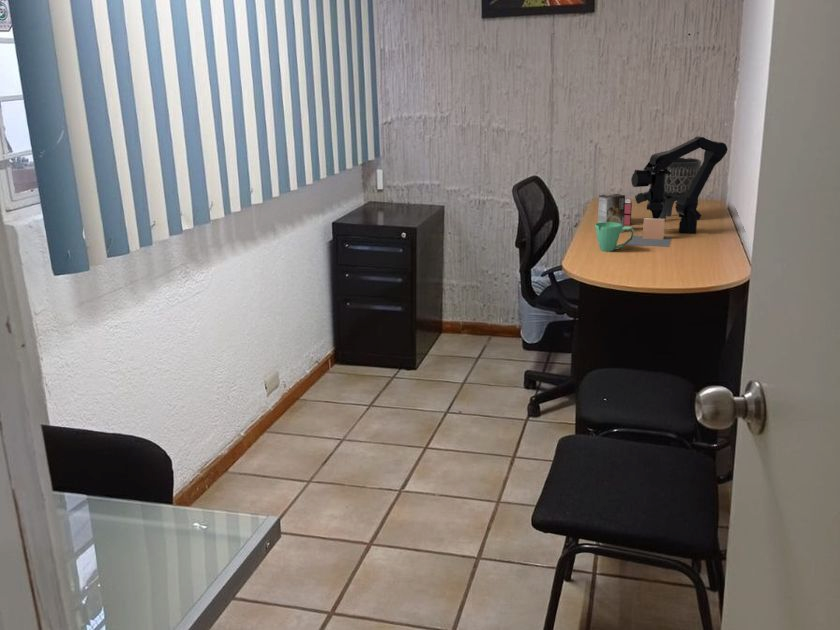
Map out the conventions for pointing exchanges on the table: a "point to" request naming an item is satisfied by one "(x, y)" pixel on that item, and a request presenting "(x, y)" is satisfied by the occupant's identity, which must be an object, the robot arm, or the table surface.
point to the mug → (610, 235)
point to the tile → (653, 228)
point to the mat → (650, 242)
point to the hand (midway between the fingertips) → (655, 223)
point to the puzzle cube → (627, 212)
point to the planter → (678, 181)
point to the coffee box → (611, 208)
